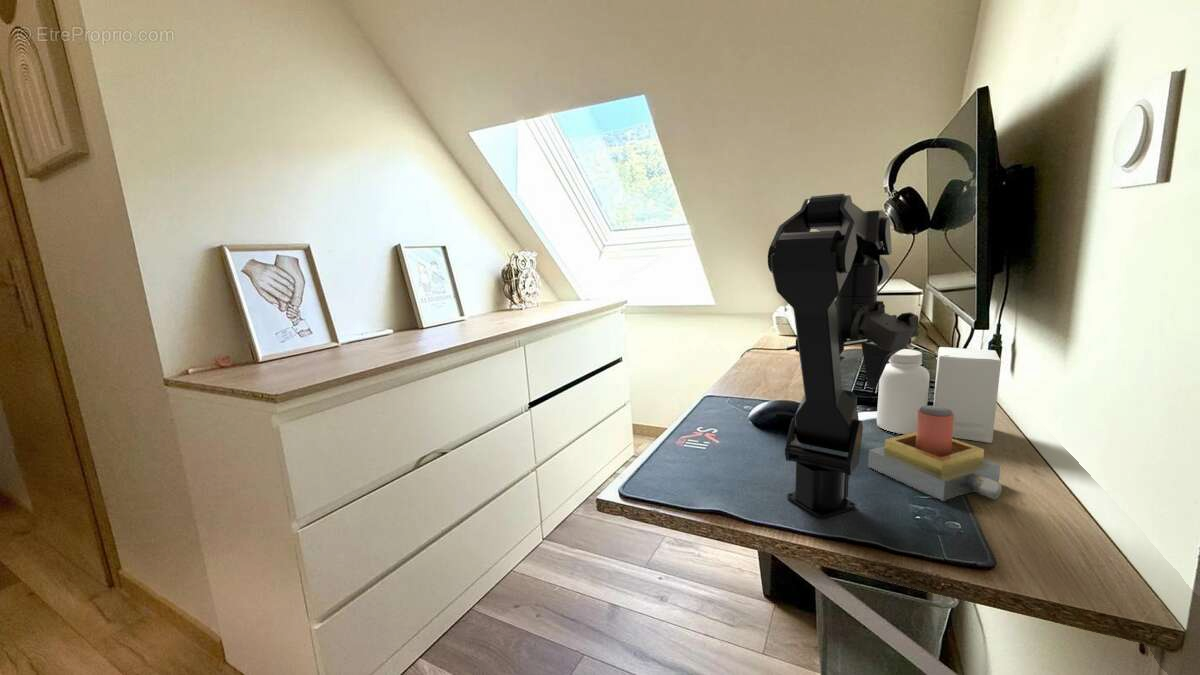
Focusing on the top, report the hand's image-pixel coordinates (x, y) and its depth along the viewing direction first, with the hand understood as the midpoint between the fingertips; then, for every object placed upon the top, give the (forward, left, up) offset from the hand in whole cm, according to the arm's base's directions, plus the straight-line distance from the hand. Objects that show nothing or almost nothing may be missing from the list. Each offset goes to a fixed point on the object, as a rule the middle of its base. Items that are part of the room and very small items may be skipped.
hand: (851, 391), depth 80 cm
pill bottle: (+20, +6, -12) cm, 24 cm away
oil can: (+7, -9, -9) cm, 15 cm away
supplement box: (+28, 0, -12) cm, 31 cm away
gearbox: (+7, -11, -12) cm, 17 cm away
